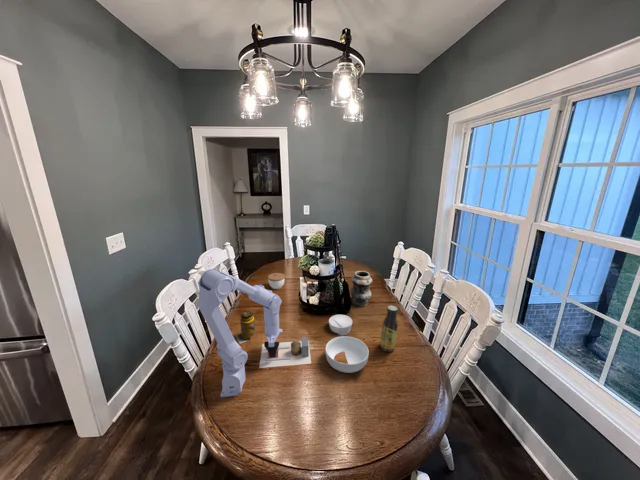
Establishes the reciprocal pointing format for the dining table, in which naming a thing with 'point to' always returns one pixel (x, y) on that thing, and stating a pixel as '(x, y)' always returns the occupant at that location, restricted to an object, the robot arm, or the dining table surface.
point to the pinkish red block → (276, 351)
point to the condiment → (246, 327)
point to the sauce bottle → (389, 330)
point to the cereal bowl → (347, 353)
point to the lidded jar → (276, 280)
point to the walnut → (295, 348)
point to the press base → (286, 355)
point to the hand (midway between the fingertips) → (273, 350)
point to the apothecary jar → (361, 288)
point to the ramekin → (340, 324)
